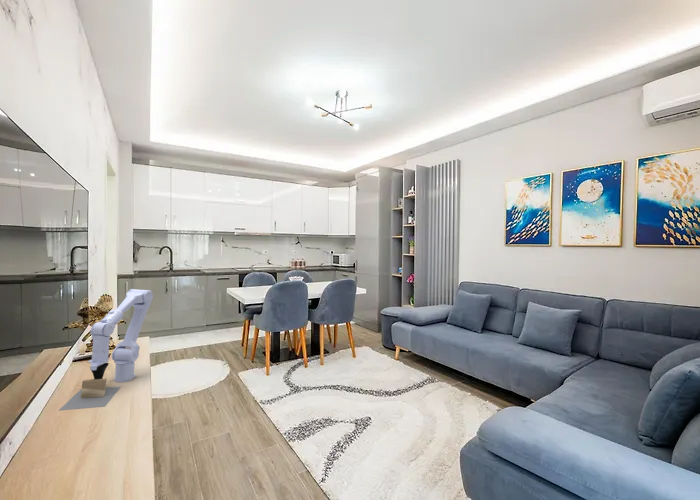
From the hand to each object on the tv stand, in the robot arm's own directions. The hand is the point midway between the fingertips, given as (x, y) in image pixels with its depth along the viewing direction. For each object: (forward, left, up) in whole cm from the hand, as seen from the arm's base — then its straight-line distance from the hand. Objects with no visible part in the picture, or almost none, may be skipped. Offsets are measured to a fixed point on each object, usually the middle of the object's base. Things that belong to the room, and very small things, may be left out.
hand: (98, 381), depth 142 cm
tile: (+4, 0, -5) cm, 6 cm away
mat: (+5, 0, -5) cm, 8 cm away
